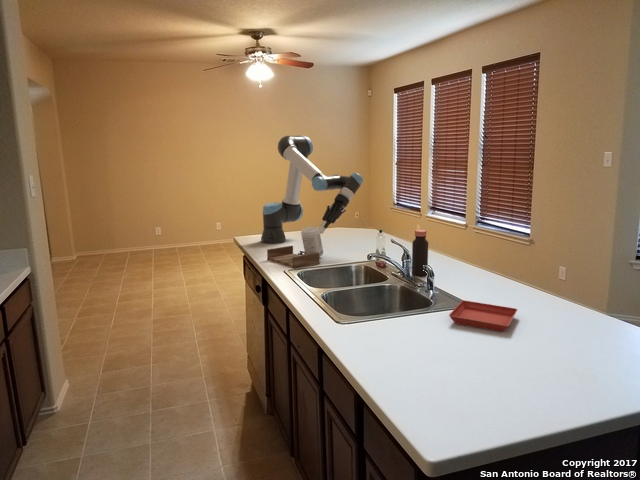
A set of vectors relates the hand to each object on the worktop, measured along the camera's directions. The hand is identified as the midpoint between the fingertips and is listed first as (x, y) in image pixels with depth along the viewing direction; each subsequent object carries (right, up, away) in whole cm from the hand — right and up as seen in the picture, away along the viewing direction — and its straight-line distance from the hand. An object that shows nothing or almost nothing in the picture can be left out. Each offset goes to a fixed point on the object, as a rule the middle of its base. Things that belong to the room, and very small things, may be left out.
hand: (320, 232), depth 246 cm
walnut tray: (-14, -15, -8) cm, 22 cm away
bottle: (+44, -20, -36) cm, 60 cm away
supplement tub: (-3, -12, +1) cm, 13 cm away
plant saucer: (+53, -31, -92) cm, 110 cm away
